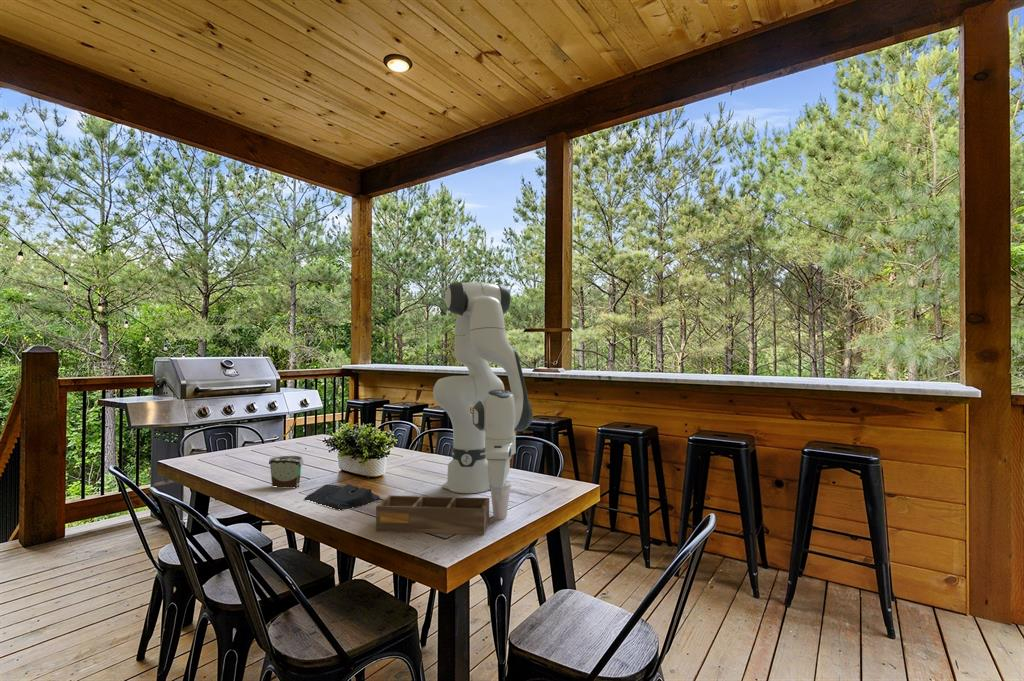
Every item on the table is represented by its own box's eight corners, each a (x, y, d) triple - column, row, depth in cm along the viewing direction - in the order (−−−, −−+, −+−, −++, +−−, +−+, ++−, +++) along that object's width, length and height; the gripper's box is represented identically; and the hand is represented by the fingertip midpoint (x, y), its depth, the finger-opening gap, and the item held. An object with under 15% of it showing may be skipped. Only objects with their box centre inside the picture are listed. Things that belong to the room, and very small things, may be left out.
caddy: (388, 518, 141) (388, 495, 141) (489, 521, 138) (489, 498, 139) (375, 531, 131) (375, 506, 131) (483, 535, 128) (483, 509, 128)
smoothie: (511, 513, 145) (511, 465, 146) (511, 520, 139) (511, 470, 139) (489, 513, 145) (489, 465, 146) (488, 521, 139) (488, 470, 139)
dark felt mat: (339, 490, 172) (339, 476, 172) (383, 500, 160) (384, 485, 160) (299, 501, 159) (299, 486, 159) (344, 513, 147) (344, 497, 147)
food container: (310, 484, 178) (310, 456, 178) (300, 488, 172) (300, 459, 172) (279, 482, 180) (279, 454, 180) (268, 487, 174) (268, 458, 174)
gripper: (493, 440, 153) (493, 485, 153) (484, 454, 133) (484, 506, 133) (514, 440, 153) (514, 486, 152) (507, 454, 132) (507, 506, 132)
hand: (500, 495), depth 142 cm, fingers open, 7 cm apart
